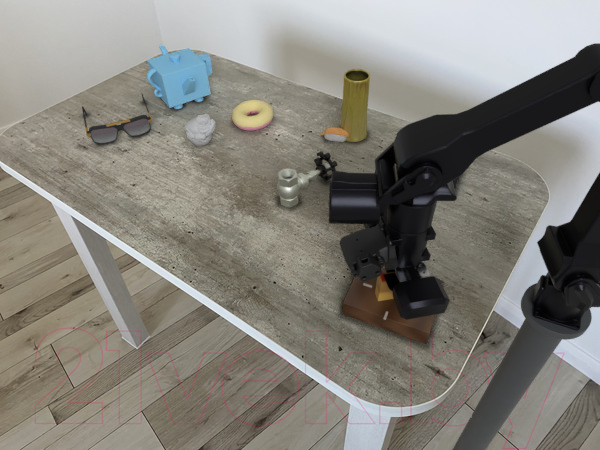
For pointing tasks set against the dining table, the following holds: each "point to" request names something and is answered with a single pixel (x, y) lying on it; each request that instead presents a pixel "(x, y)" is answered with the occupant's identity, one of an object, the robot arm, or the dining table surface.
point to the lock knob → (383, 289)
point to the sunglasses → (119, 128)
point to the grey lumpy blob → (200, 129)
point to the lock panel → (383, 311)
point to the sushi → (335, 134)
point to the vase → (355, 104)
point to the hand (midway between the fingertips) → (394, 292)
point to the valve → (302, 179)
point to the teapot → (180, 76)
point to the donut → (252, 122)
